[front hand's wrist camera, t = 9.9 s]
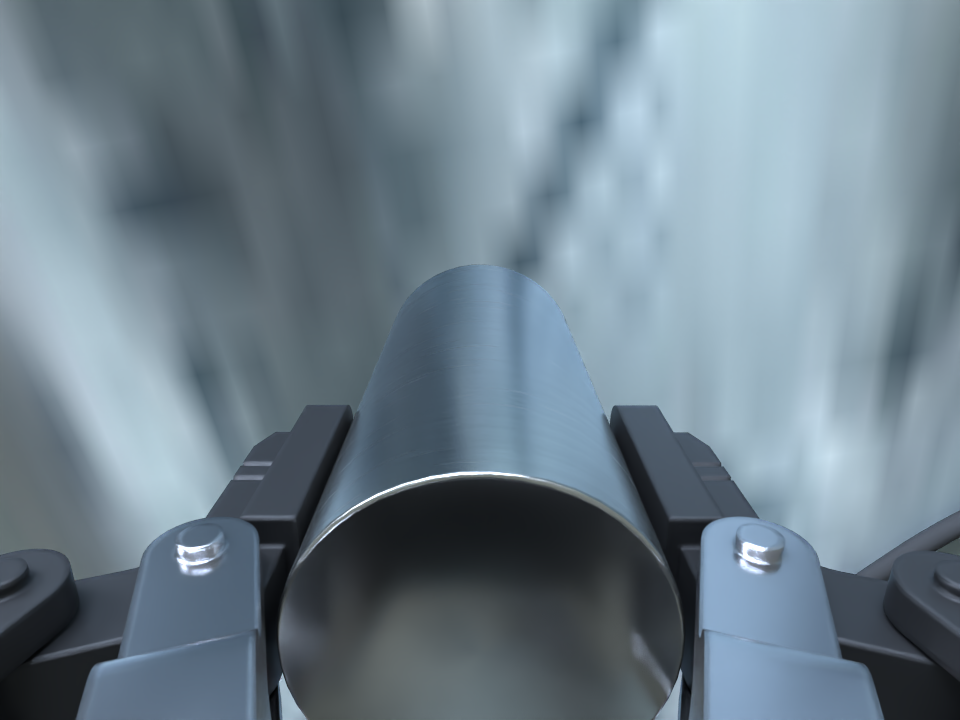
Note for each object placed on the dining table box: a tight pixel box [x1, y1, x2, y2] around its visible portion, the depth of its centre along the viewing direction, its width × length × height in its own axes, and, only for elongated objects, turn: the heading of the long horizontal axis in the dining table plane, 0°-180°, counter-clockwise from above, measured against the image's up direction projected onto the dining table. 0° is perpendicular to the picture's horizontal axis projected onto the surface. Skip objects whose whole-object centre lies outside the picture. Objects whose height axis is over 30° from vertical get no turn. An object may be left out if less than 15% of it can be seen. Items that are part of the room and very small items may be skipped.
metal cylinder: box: [276, 265, 686, 720], centre depth 12 cm, size 5×5×10 cm
